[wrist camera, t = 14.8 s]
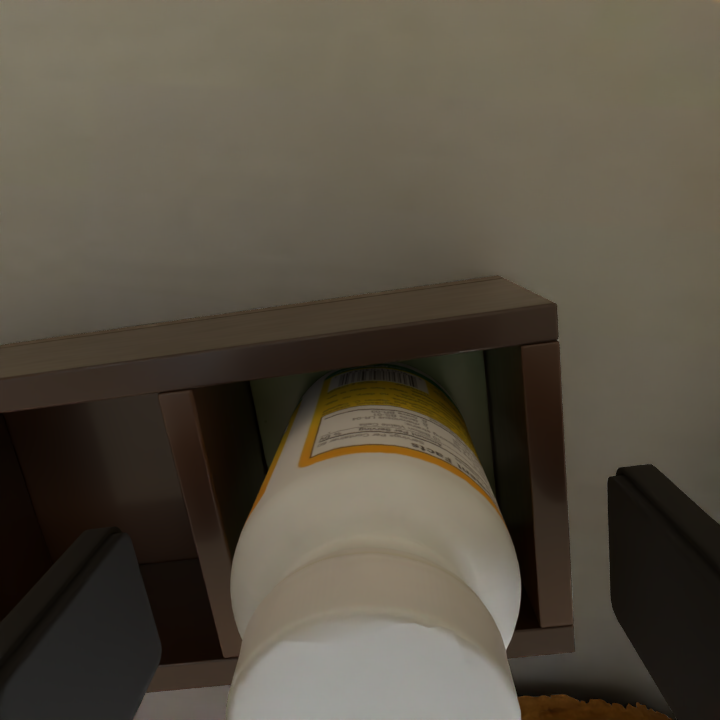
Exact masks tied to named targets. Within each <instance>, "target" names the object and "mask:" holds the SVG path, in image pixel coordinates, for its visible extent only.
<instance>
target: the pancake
mask: <svg viewBox="0 0 720 720" xmlns="http://www.w3.org/2000/svg"><path fill="white" fill-rule="evenodd" d="M517 698H518V702H519V706H520V710H521V720H673V719H672V718H668V717H667V715H665V714H662V713H660V712H658V711H656V712H655V711H653V710H652V708H651V709H649V710H648V709H647V708H646V705H640V703H638V702H637V703H636V706H637V708H636V707H633V706H632V705H630V704H629V703H628V705H627V707H626V709H625V708H624V707H623V706H622V705H620V704H618V703H612V706H611V705H610V703H606V702H605V701H604V700H601V699H595V700H594V699H590V701H589V703H587V704H586V703H585V701H582V700H581V702H579V700H577V699H574V698H572V697H569V696H568V695H564V694H559V695H551V698H550V697H549V696H545V695H542V696H539V697H531V696H524V695H523V696H520V697H518V696H517Z"/></svg>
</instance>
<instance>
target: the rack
mask: <svg viewBox="0 0 720 720" xmlns="http://www.w3.org/2000/svg"><path fill="white" fill-rule="evenodd" d="M558 337H559V332H558V313H557V304H556V303H554V302H552V301H550V300H548V299H546V298H544V297H542V296H540V295H538V294H536V293H534V292H532V291H530V290H528V289H526V288H524V287H522V286H520V285H518V284H516V283H514V282H512V281H510V280H508V279H505V278H503V277H501V276H499V275H496V276H489V277H482V278H474V279H467V280H460V281H453V282H446V283H439V284H431V285H424V286H417V287H410V288H403V289H396V290H388V291H381V292H374V293H367V294H360V295H353V296H345V297H338V298H331V299H324V300H317V301H310V302H303V303H295V304H288V305H281V306H274V307H267V308H260V309H252V310H245V311H238V312H231V313H224V314H217V315H209V316H202V317H195V318H188V319H181V320H174V321H166V322H159V323H152V324H145V325H138V326H131V327H123V328H116V329H109V330H102V331H95V332H88V333H80V334H73V335H66V336H59V337H52V338H45V339H37V340H30V341H23V342H16V343H9V344H2V345H0V623H1V621H2V620H3V619H4V618H5V617H6V616H7V615H8V614H9V613H10V612H11V610H12V609H13V608H14V607H15V606H16V605H17V604H18V603H19V602H20V601H21V600H22V598H23V597H24V596H25V595H26V594H27V593H28V592H29V591H30V590H31V589H32V587H33V586H34V585H35V584H36V583H37V582H38V581H39V580H40V579H41V578H42V577H43V575H44V574H45V573H46V572H47V571H48V570H49V569H50V568H51V567H52V566H53V564H54V563H55V562H56V561H57V560H58V559H59V558H60V557H61V556H62V555H63V554H64V552H65V551H66V550H67V549H68V548H69V547H70V546H71V545H72V544H73V543H74V541H75V540H76V539H77V538H78V537H79V536H80V535H81V534H82V533H83V532H84V531H85V530H89V529H96V528H105V527H114V526H116V527H118V528H119V529H120V530H121V531H122V533H127V534H128V535H129V536H130V538H131V541H132V544H133V548H134V551H135V555H136V558H137V562H138V565H139V568H140V572H141V575H142V579H143V582H144V586H145V589H146V593H147V596H148V600H149V603H150V607H151V610H152V614H153V617H154V621H155V624H156V628H157V631H158V635H159V638H160V641H161V649H162V652H161V659H160V663H159V666H158V668H157V670H156V672H155V674H154V676H153V678H152V680H151V682H150V685H149V687H148V689H147V691H146V693H149V692H159V691H170V690H180V689H191V688H202V687H212V686H223V685H231V683H232V679H233V676H234V672H235V669H236V665H237V662H238V658H239V655H240V650H241V644H242V638H241V636H240V634H239V631H238V628H237V625H236V622H235V618H234V614H233V609H232V602H231V593H230V579H231V569H232V561H233V557H234V554H235V550H236V546H237V543H238V540H239V537H240V534H241V532H242V529H243V527H244V525H245V522H246V520H247V518H248V515H249V513H250V511H251V509H252V507H253V504H254V502H255V500H256V497H257V495H258V493H259V490H260V488H261V485H262V483H263V481H264V479H265V477H266V475H267V472H268V470H269V467H270V465H271V463H272V461H273V458H274V456H275V454H276V451H277V449H278V447H279V444H280V442H281V439H282V437H283V434H284V432H285V429H286V427H287V426H288V423H289V420H290V418H291V416H292V414H293V412H294V410H295V408H296V406H297V404H298V402H299V401H300V399H301V398H302V396H303V395H304V394H305V393H306V391H307V390H308V389H309V388H310V387H311V386H312V385H313V384H314V383H315V382H316V381H317V380H319V379H320V378H321V377H322V376H324V375H326V374H327V373H329V372H331V371H332V370H335V369H343V368H351V367H358V366H366V365H374V364H381V363H389V362H399V363H402V364H406V365H409V366H411V367H414V368H416V369H418V370H420V371H422V372H424V373H425V374H427V375H429V376H430V377H431V378H433V379H434V380H435V381H437V382H438V383H439V384H440V385H441V386H442V387H443V388H444V389H445V390H446V391H447V392H448V394H449V395H450V396H451V397H452V399H453V400H454V402H455V403H456V405H457V407H458V409H459V411H460V413H461V415H462V417H463V419H464V421H465V424H466V427H467V430H468V432H469V434H470V437H471V440H472V443H473V445H474V448H475V450H476V453H477V455H478V458H479V460H480V463H481V465H482V468H483V470H484V472H485V475H486V477H487V480H488V482H489V484H490V487H491V489H492V492H493V494H494V497H495V499H496V501H497V504H498V507H499V509H500V512H501V514H502V516H503V519H504V521H505V524H506V526H507V529H508V532H509V534H510V537H511V539H512V542H513V545H514V548H515V552H516V556H517V560H518V564H519V570H520V578H521V600H520V609H519V615H518V619H517V622H516V626H515V629H514V632H513V636H512V638H511V641H510V643H509V645H508V647H507V649H506V654H507V659H509V658H519V657H530V656H541V655H551V654H562V653H572V652H575V638H574V625H573V624H574V618H573V598H572V579H571V559H570V539H569V520H568V500H567V481H566V461H565V442H564V422H563V403H562V383H561V364H560V344H559V341H557V340H558Z"/></svg>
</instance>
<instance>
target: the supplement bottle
mask: <svg viewBox="0 0 720 720" xmlns="http://www.w3.org/2000/svg"><path fill="white" fill-rule="evenodd" d="M230 593H231V602H232V609H233V614H234V618H235V622H236V625H237V628H238V631H239V634H240V636H241V638H242V644H241V650H240V655H239V658H238V662H237V665H236V669H235V672H234V676H233V679H232V683H231V687H230V690H229V694H228V698H227V704H226V720H521V710H520V706H519V702H518V698H517V694H516V690H515V686H514V682H513V678H512V675H511V671H510V667H509V663H508V660H507V654H506V649H507V647H508V645H509V643H510V641H511V638H512V636H513V632H514V629H515V626H516V622H517V619H518V615H519V609H520V600H521V578H520V570H519V564H518V560H517V556H516V552H515V548H514V545H513V542H512V539H511V537H510V534H509V532H508V529H507V526H506V524H505V521H504V519H503V516H502V514H501V512H500V509H499V507H498V504H497V501H496V499H495V497H494V494H493V492H492V489H491V487H490V484H489V482H488V480H487V477H486V475H485V472H484V470H483V468H482V465H481V463H480V460H479V458H478V455H477V453H476V450H475V448H474V445H473V443H472V440H471V437H470V434H469V432H468V430H467V427H466V424H465V421H464V419H463V417H462V415H461V413H460V411H459V409H458V407H457V405H456V403H455V402H454V400H453V399H452V397H451V396H450V395H449V394H448V392H447V391H446V390H445V389H444V388H443V387H442V386H441V385H440V384H439V383H438V382H437V381H435V380H434V379H433V378H431V377H430V376H429V375H427V374H425V373H424V372H422V371H420V370H418V369H416V368H414V367H411V366H409V365H406V364H402V363H399V362H389V363H381V364H374V365H366V366H358V367H351V368H343V369H335V370H332V371H331V372H329V373H327V374H326V375H324V376H322V377H321V378H320V379H319V380H317V381H316V382H315V383H314V384H313V385H312V386H311V387H310V388H309V389H308V390H307V391H306V393H305V394H304V395H303V396H302V398H301V399H300V401H299V402H298V404H297V406H296V408H295V410H294V412H293V414H292V416H291V418H290V420H289V423H288V426H287V427H286V429H285V432H284V434H283V437H282V439H281V442H280V444H279V447H278V449H277V451H276V454H275V456H274V458H273V461H272V463H271V465H270V467H269V470H268V472H267V475H266V477H265V479H264V481H263V483H262V485H261V488H260V490H259V493H258V495H257V497H256V500H255V502H254V504H253V507H252V509H251V511H250V513H249V515H248V518H247V520H246V522H245V525H244V527H243V529H242V532H241V534H240V537H239V540H238V543H237V546H236V550H235V554H234V557H233V561H232V569H231V579H230Z"/></svg>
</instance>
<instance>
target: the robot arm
mask: <svg viewBox="0 0 720 720" xmlns="http://www.w3.org/2000/svg"><path fill="white" fill-rule="evenodd" d="M607 493H608V528H609V563H610V596H611V603H612V608H613V611H614V614H615V616H616V618H617V620H618V622H619V623H620V625H621V627H622V628H623V630H624V632H625V633H626V635H627V637H628V639H629V640H630V642H631V644H632V645H633V647H634V649H635V650H636V652H637V654H638V655H639V657H640V659H641V660H642V662H643V664H644V665H645V667H646V669H647V670H648V672H649V674H650V675H651V677H652V679H653V680H654V682H655V684H656V685H657V687H658V689H659V690H660V692H661V694H662V695H663V697H664V699H665V700H666V702H667V704H668V705H669V707H670V709H671V710H672V712H673V714H674V716H675V717H676V719H677V720H720V525H719V524H718V523H717V522H716V521H715V520H713V519H712V518H711V517H710V516H709V515H708V514H707V513H706V512H705V511H704V510H702V509H701V508H700V507H699V506H698V505H697V504H696V503H695V502H694V501H692V500H691V499H690V498H689V497H688V496H687V495H686V494H685V493H684V492H682V491H681V490H680V489H679V488H678V487H677V486H676V485H675V484H674V483H673V482H671V481H670V480H669V479H668V478H667V477H666V476H665V475H664V474H663V473H661V472H660V471H659V470H658V469H657V468H656V467H655V466H653V465H652V464H646V465H637V466H629V467H620V468H618V469H617V472H616V476H610V477H609V478H608V481H607ZM161 652H162V649H161V641H160V638H159V635H158V631H157V628H156V624H155V621H154V617H153V614H152V610H151V607H150V603H149V600H148V596H147V593H146V589H145V586H144V582H143V579H142V575H141V572H140V568H139V565H138V562H137V558H136V555H135V551H134V548H133V544H132V541H131V538H130V536H129V535H128V534H127V533H122V531H121V530H120V529H119V528H118V527H116V526H114V527H105V528H96V529H89V530H85V531H84V532H83V533H82V534H81V535H80V536H79V537H78V538H77V539H76V540H75V541H74V543H73V544H72V545H71V546H70V547H69V548H68V549H67V550H66V551H65V552H64V554H63V555H62V556H61V557H60V558H59V559H58V560H57V561H56V562H55V563H54V564H53V566H52V567H51V568H50V569H49V570H48V571H47V572H46V573H45V574H44V575H43V577H42V578H41V579H40V580H39V581H38V582H37V583H36V584H35V585H34V586H33V587H32V589H31V590H30V591H29V592H28V593H27V594H26V595H25V596H24V597H23V598H22V600H21V601H20V602H19V603H18V604H17V605H16V606H15V607H14V608H13V609H12V610H11V612H10V613H9V614H8V615H7V616H6V617H5V618H4V619H3V620H2V621H1V623H0V720H133V718H134V716H135V714H136V712H137V710H138V708H139V705H140V703H141V701H142V699H143V697H144V695H145V693H146V691H147V689H148V687H149V685H150V682H151V680H152V678H153V676H154V674H155V672H156V670H157V668H158V666H159V663H160V659H161Z"/></svg>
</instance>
